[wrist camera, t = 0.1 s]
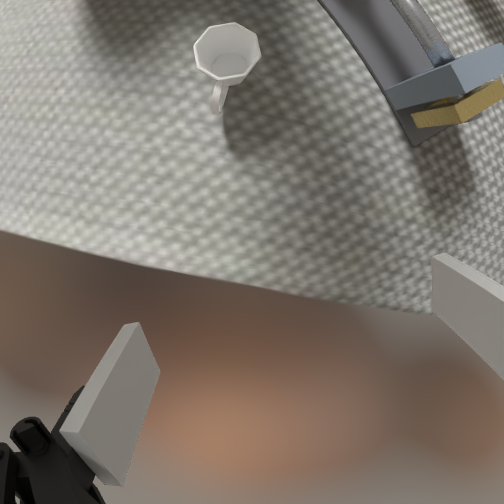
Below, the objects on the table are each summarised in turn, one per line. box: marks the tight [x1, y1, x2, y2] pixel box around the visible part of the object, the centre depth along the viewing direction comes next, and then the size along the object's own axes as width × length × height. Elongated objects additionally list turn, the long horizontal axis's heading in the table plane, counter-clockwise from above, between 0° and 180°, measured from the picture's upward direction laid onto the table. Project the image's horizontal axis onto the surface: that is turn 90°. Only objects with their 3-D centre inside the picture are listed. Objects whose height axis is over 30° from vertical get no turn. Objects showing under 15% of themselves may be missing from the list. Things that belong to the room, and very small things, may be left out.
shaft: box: [390, 0, 482, 123], centre depth 24 cm, size 26×3×3 cm, turn 32°
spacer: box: [411, 80, 504, 128], centre depth 28 cm, size 2×10×10 cm, turn 122°
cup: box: [193, 22, 261, 115], centre depth 31 cm, size 7×10×8 cm
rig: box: [318, 0, 504, 147], centre depth 25 cm, size 34×10×16 cm, turn 32°
